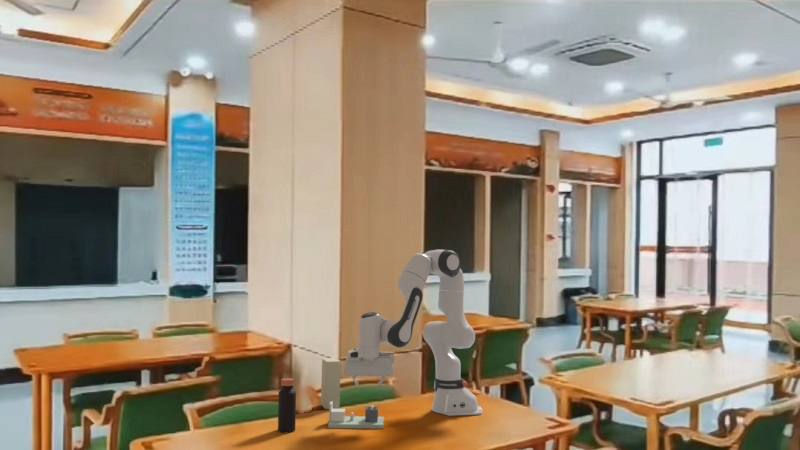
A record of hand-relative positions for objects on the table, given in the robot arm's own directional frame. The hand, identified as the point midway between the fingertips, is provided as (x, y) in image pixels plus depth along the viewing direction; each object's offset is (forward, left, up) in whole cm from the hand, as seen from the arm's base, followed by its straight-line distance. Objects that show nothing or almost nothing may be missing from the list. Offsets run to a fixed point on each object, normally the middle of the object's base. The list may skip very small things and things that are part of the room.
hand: (368, 386), depth 271 cm
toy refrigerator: (+17, -27, -16) cm, 36 cm away
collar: (-2, 0, -14) cm, 14 cm away
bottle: (+31, +10, -16) cm, 36 cm away
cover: (+12, 0, -14) cm, 19 cm away
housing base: (+4, 0, -15) cm, 16 cm away
